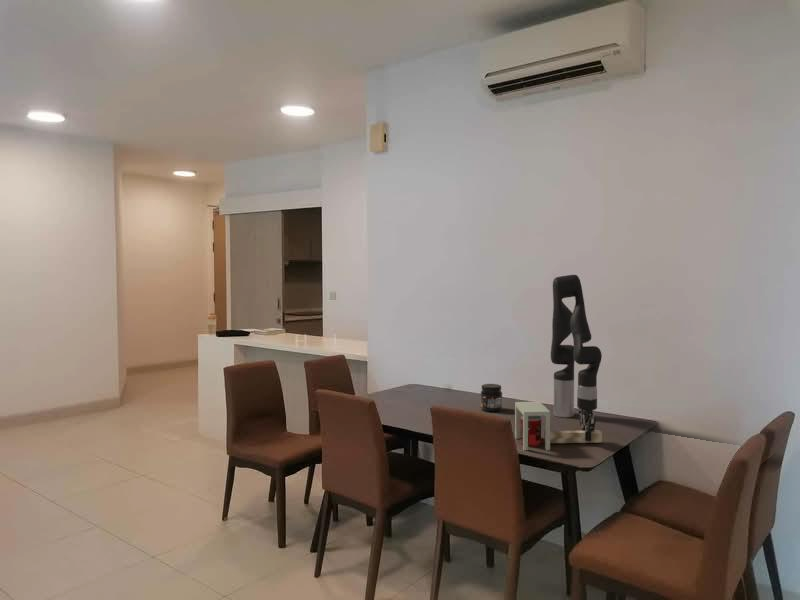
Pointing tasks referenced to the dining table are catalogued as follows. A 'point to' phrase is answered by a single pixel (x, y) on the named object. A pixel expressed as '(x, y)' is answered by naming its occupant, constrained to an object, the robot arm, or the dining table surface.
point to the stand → (527, 410)
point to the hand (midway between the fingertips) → (586, 439)
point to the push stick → (574, 437)
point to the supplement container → (491, 397)
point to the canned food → (532, 430)
